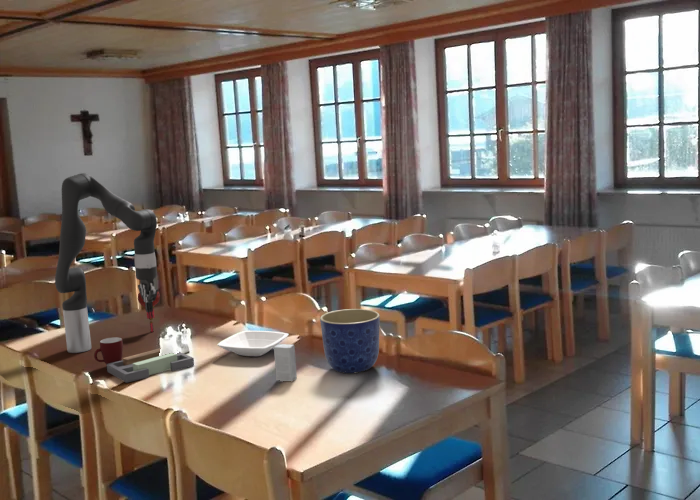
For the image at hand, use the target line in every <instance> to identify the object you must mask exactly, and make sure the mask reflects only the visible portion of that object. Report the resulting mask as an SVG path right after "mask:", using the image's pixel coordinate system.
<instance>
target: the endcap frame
mask: <svg viewBox="0 0 700 500" xmlns="http://www.w3.org/2000/svg"><path fill="white" fill-rule="evenodd" d="M194 359H195V358H194V357H192V356H190V355H188V354H185V353H183V352H181V351H179V353H177V361H174V362H170V365H171V369H170V371H172V372H175V371H178V370H184V369H186V368H187V367H188V368H190V367H191V366H192V367H194V366H195V361H194ZM183 368H184V369H183ZM106 369H107V370H106V371H107V373H109V374H111V375H113V376H114V377H116V378H118V379H119V380H121V381H123V383H127V384H128V383H130V382H135V381H139V380H143V379H147V378H149V377H150V375H149V369H148V368H144V369H140V370H136V371H133V364H129V365H125V366H124V365H123V359H122V360H121V361H117V362H113V363H108V364H107V365H106Z"/></svg>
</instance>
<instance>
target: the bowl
mask: <svg viewBox="0 0 700 500" xmlns="http://www.w3.org/2000/svg"><path fill="white" fill-rule="evenodd" d="M287 337H289V333H287V332H282V331H270V330H269V331H268V330H242V331H239V332H237V333H235V334H232V335H231V336H228V337H226V338H225V339H223V340H221V341H219V342H218V343H217V345H216V346H218V347H219V348H220V349H221V348H222V349H223V350H226V351H228V352H233V353H235V354H237V355H240V356H244V357H245V356H246V357H261V356H263V355H265V354H267V353H268V352H270V350H272V349H274V347H275V346H277V345H278V344H281V343H282V342H283V341H284V340H285V339H287Z"/></svg>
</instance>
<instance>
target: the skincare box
mask: <svg viewBox="0 0 700 500" xmlns="http://www.w3.org/2000/svg"><path fill="white" fill-rule="evenodd" d="M273 352H274V353H273V354H274V366H275V381H276V380H280V381H279V382H283V381H293V380H294V381H295V380H297V377H298V376H297V362H296V351H295V344H285V343H282V344H281V343H279V344H278V345H277V346H275V347H273ZM294 381H293V382H294Z"/></svg>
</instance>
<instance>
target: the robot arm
mask: <svg viewBox="0 0 700 500" xmlns="http://www.w3.org/2000/svg"><path fill="white" fill-rule="evenodd" d="M89 197H92V198H95V199H97V200H98V201H100V203H101V204H102V205H101V206H102V207H103V209H104V210H105V211H106V212H107V213H109V215H111V216H113V217H115V218H117V219H118V220H120V221H121V222H122V223H123V224H124V225H125V226H126V227H127V228H128V229H130V230H132V231H134V232H140V233H139V235H138V236H137V237H135V238H134V239H133V247H134V248H133V249H134V269H135V279H137V280H139V283H140V284H137V288H138V291H139V292H140V294H141V297H142V299H144V302H145V307H144V308H145V312H146V313H147V312H153V304H152V302H153V301H155V299H156V296H157V292H159V291H158V288H155V281H154V279H156V278H157V277H158V270H157V257H156V253H155V237H156V231H157V225H158V222H157V219H158V218H157V216H156V214H155V212H154V211H153V210H151V209H149V208H148V209H141V210H136V208H135V206H134V204H133V203H131V202H130V201H128V200H126V199H123V198H122V197H120V196H118V195H117V194H115V193H113V192H112V191H110V189H108V188H107V187H106V186H104V185H103V184H102V183H100V182H99V181H98V180H97V179H96V178H95V177H94V176H92V175H90V174H89V173H87V172H83V173H82V172H80V173H78V174H74V175H70V176H68V177H66V178H65V179H63V181H62V184H61V224H60V234H59V252H58V258H57V259H58V260H57V265H56V269H55V275H54V283H55V288H56V290H57V292H59V293H60V294H67V293H73V292H74V293H73V294H72V296H70V297H69V298H67V299H66V300H64V301H63V302H62V304H61V305H62V307H61V308H62V314H63V322H64V331H65V340H66V349H67V352H68V353H70V354H77V353H78V354H79V353H84V352H88V351H90V350H91V349H92V339H91V332H90V323H89V322H90V321H89V315H88V314H89V312H88V305H87V304H88V303H87V302H88V298H87V296H88V295H87V280H86V279H87V278H86V274H85V272H84V270H83V268H81V267H72V268H71V265H72V263H73V262H74V261H75V259H76V258H77V257H78V255H79V254H81V251H82V250H83V249H84V246H85V245H86V244H85V243H86V238H87V237H86V236H87V227H86V225H85V223H84V221H83V219H82V218H81V217H80V215H79V211H78V210H79V202H80V201H81V200H84V199H85V200H86V199H88V198H89Z"/></svg>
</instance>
